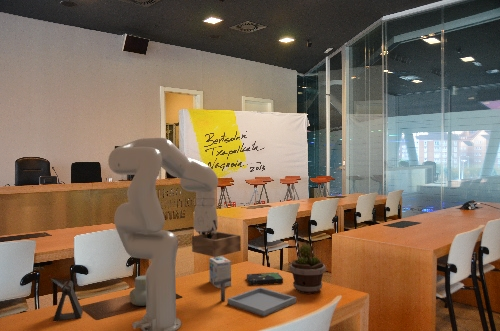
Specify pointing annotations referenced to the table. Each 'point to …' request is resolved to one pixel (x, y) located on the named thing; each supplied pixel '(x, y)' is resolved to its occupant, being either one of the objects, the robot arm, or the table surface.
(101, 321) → the table surface
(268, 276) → the disk drive
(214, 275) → the light bulb box
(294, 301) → the tray
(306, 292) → the flowerpot
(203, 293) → the table surface
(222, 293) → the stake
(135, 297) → the air freshener
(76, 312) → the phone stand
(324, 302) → the table surface
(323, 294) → the table surface
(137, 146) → the robot arm
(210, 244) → the frame
